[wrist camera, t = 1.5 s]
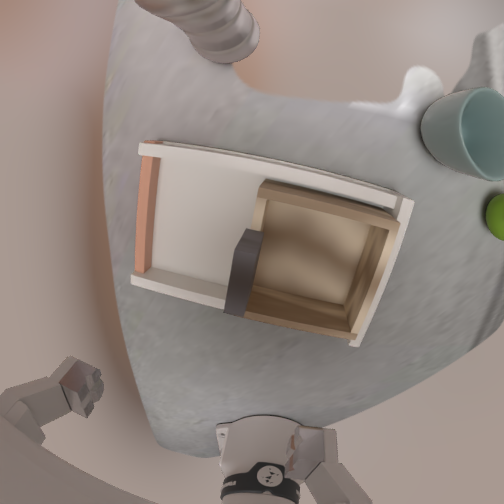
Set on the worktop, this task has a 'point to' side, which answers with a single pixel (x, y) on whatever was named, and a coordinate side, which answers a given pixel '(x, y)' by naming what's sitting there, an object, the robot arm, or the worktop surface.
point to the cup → (467, 132)
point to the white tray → (224, 216)
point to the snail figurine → (496, 216)
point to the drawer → (310, 260)
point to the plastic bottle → (211, 26)
